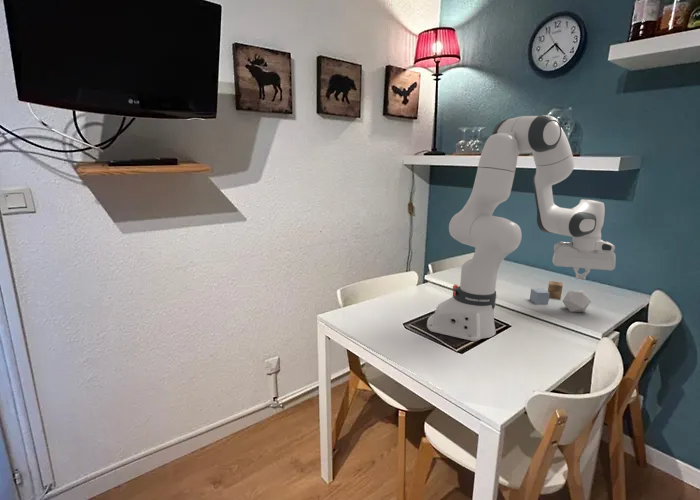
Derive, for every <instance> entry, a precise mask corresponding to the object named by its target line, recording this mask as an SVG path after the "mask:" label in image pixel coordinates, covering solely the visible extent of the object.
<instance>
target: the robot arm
mask: <svg viewBox="0 0 700 500" xmlns="http://www.w3.org/2000/svg"><path fill="white" fill-rule="evenodd" d="M491 133H492V134H491V135H490V136H489V137H488V138H487V139H486V141H485V143H484V146H483V149H482V151H481V154H480V157H479V160H478V165H477V168H476V169H477V170H476V174H475V179H474V181H473V182H474V183H473V187H472V191H471V193H470V195H469V198H468V199H467V201H466V202H465V204H464V206H463V208H461V210H460V211H458V212H457V213H455V214H454V215H453V216H452V217H451V219H450V221H449V224H448V232H449V234H450V236H451V237H452V238H453V239H454V240H455V241H457V242H459V243H460V244H463V245H467V246H469V247H473V248H474V253H473V256H472V258H470V259H468V260H467V261H465V262H464V263H463V264H462V266H461V272H460V273H461V274H460V285H459V284H453V286H452V290H453V291H452V296H451V297H450V298H448V299H446V300H444V301H442V302H440V303H439V304H438V305H437V307H436V308H435V312H434V313H433V314H431V315H430V316H429V317H428V318H427V321H426V328H427V329H428V330H429V332H431V333H432V332H433V333H436V334H441V335H446V336H450V337H453V338H458V339H464V340H467V341H471V342H477V341H479V340H481V339H487V338H491V337H494V336H495V335H496V334H497V332H496V331H497V330H496V325H495V316H494V315H495V312H494V310H495V307H496V303H497V302H496V301H497V291H496V287H497V280H498V272H499V268H500V266H501V264H502V262H503V261H504V260H505V259H506V257H507V256H509V255H510V254H512V253H513V252H515V251H516V250H517V249H518V248H519V246H520V244H521V242H522V236H523V235H522V229H521V227H520V225H518V224H517V223H516V222H514V221H512V220H510V219H508V218H506V217H501V216H496V215H494V212H495V210H496V208H497V207H498V206H499V205H500V204H502V203H505V202H506V201H508V199H509V197H510V195H511V193H512V187H513V183H514V179H515V175H516V170H517V163H518V156H520V154H532V157H533V161H534V164H535V168H536V169H535V172H534V175H533V177H532V184H533V193H534V199H535V208H536V223H537V227H538V228H539V230H540V231H541V232H543V233H549V234H557V235H561V236H567V237H571V238H572V241H559V242H555V243H554V245H553V252H554V253H553V256H552V263H553V265H554V266H555V267H563V268H564V267H566V268H573V271H574V272H575V279H576V280H584V281H585V280H586V277H587V276H588V275H589V274H590V272H591V270H601V271H602V270H603V271H613V270H614V269H616V264H617V263H616V261H617V255H616V253H615V252H614V251H615V249H616V246H615V245H614V244H612V243H611V242H610V241H606V240H605V239H602V229H603V226H604V222H605V213H606V211H605V209H606V207H605V203H604V202H603V201H601V200H598V199H592V198H591V199H590V198H582V199H580V200H579V202H578V204H577V205H576V206H574V207H572V208H566V207H561V206H558V205H556V204H555V201H554V195H553V186H554V185H556V184H558V183H559V184H560V183H561V182H562V181H564V180H566V179H567V178H569V176H570V175H571V174H572V172H573V171H574V167H575V160H574V159H575V158H574V156H573V155H574V154H573V151H572V148H571V145H570V142H569V140H568V137H567V135H566V133H565V130H563V128H562V126H561V123H560V122H559V120H558V119H557V118H556V117H554V116H552V115H547V114H542V115H523V116H516V117H513V118H505V119H503V120H501V121H499V122H498V123H497V124H496V125H495V126H494V128H493V130H492V132H491ZM580 268H581V269H584V270H585V271H584V272H583V273H579V271H580Z"/></svg>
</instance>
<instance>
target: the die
mask: <svg viewBox="0 0 700 500" xmlns="http://www.w3.org/2000/svg"><path fill="white" fill-rule="evenodd" d="M561 301H562V303H563V304H564V306H565V307H566V309H568V311H569V312H570V313H584V312H585V311H586V309H587V308H588V306H589V305H590V304H591V303H592V300H591V299H590V298H589V297H588V296H587V294H586V292H585V291H584V290H577V289H574V290H573V289H572V290H571V289H570V290H568V291H567V292H566V294H565V295H564V297H563V299H562V300H561Z"/></svg>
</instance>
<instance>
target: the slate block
mask: <svg viewBox="0 0 700 500" xmlns="http://www.w3.org/2000/svg"><path fill="white" fill-rule="evenodd" d="M549 295H550V293H549V292H548V290H546V289H545V288H530V295H529V301H531V302H532V303H533V304H534V305H549V301H550V298H549Z"/></svg>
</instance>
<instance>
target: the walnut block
mask: <svg viewBox="0 0 700 500" xmlns="http://www.w3.org/2000/svg"><path fill="white" fill-rule="evenodd" d="M563 285H564V284H563V282H560V281H553V280H549V281H548V287H547V291H548V292H549V293H550V295H549V299H553V300H559V301H562V300H561V298H562V294H563V293H562V292H563Z"/></svg>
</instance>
